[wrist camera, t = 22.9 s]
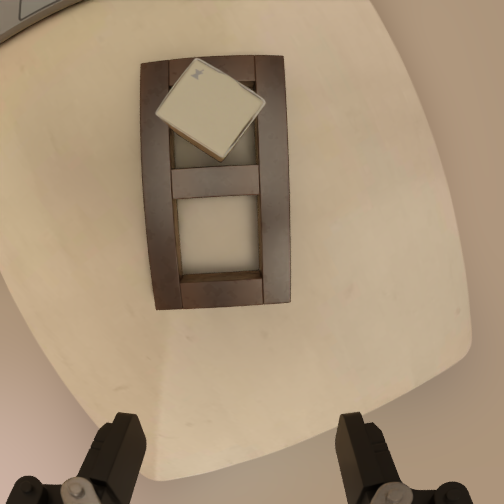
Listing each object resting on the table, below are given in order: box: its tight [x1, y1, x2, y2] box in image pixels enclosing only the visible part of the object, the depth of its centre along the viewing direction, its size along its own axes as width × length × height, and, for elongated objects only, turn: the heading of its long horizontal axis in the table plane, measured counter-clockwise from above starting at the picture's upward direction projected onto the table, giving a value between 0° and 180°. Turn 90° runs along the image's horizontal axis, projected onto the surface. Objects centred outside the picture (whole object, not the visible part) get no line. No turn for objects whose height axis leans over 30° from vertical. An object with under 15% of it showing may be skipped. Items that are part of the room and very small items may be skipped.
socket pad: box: [140, 55, 291, 310], centre depth 27 cm, size 12×22×2 cm, turn 2°
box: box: [156, 58, 266, 162], centre depth 22 cm, size 5×4×11 cm
